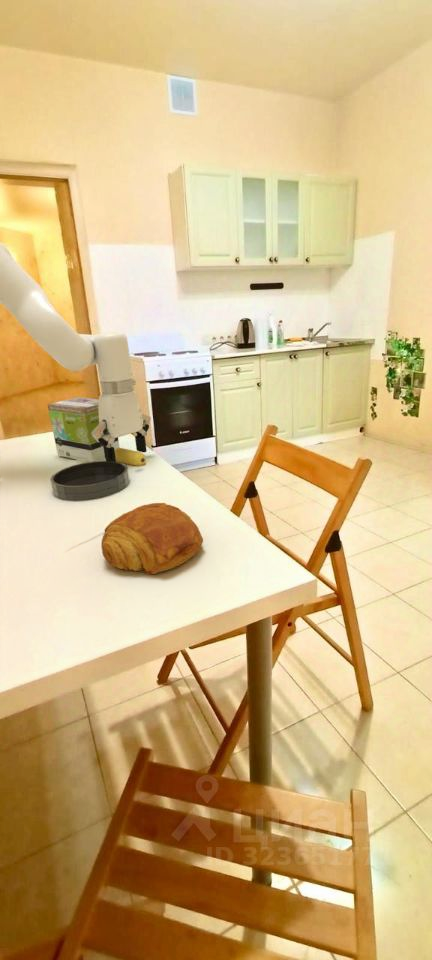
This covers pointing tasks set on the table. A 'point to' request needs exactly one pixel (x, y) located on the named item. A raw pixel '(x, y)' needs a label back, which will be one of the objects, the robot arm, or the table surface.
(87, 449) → the tea box
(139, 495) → the table surface
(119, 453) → the banana
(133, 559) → the croissant
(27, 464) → the table surface
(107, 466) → the shallow dish
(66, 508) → the table surface
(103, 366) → the robot arm
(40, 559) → the table surface
